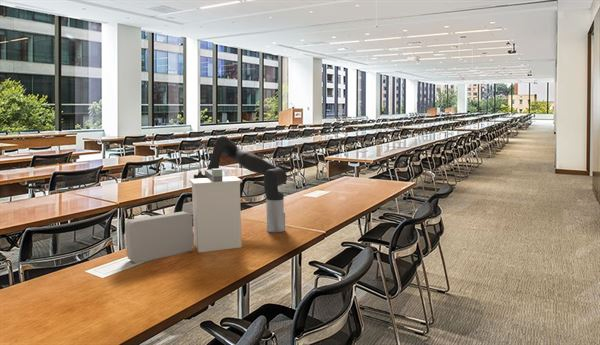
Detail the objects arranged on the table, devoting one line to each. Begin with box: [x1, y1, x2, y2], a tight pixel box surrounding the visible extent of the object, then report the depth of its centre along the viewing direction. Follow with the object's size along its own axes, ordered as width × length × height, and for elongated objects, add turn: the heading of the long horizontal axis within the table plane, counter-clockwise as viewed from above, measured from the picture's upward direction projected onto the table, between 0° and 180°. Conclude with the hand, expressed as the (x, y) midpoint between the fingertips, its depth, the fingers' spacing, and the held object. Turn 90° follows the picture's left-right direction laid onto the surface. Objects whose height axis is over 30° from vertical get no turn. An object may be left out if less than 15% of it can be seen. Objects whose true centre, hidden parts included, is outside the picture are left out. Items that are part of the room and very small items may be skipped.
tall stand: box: [189, 175, 243, 253], centre depth 213 cm, size 22×14×32 cm, turn 111°
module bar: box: [204, 167, 223, 182], centre depth 215 cm, size 4×24×6 cm, turn 21°
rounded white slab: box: [124, 211, 194, 264], centre depth 201 cm, size 29×8×18 cm, turn 129°
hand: (209, 172), depth 224 cm, fingers open, 8 cm apart
